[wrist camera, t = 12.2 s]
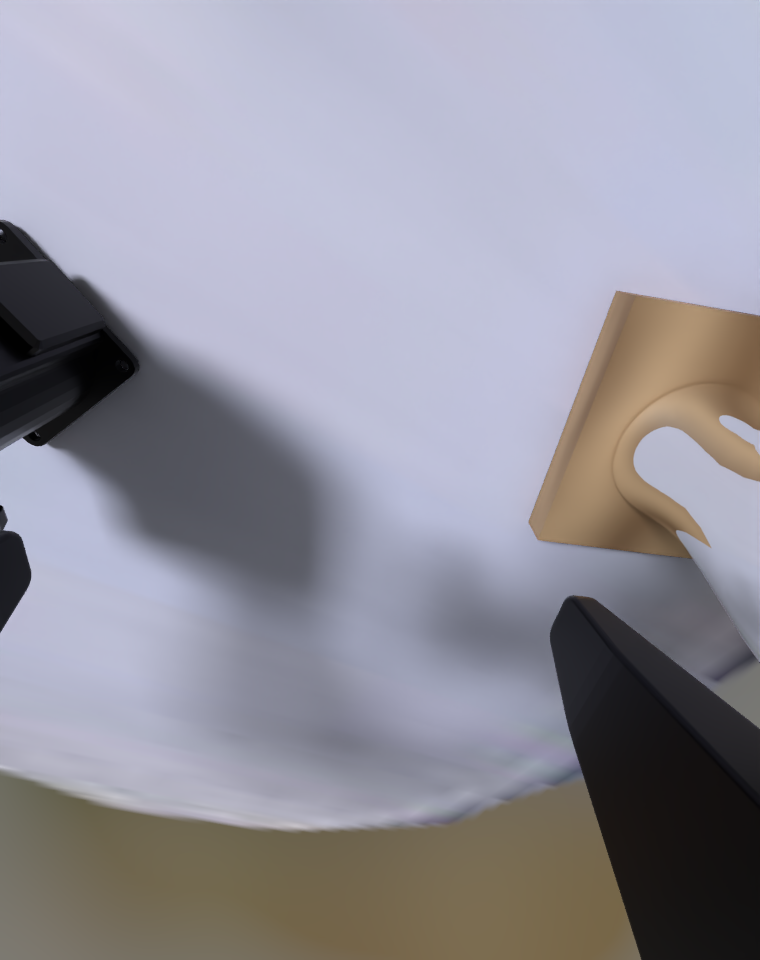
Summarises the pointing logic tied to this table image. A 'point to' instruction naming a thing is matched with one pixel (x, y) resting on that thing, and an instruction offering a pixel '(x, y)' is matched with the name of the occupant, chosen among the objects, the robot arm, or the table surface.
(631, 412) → the cleat board
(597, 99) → the table surface
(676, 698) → the robot arm
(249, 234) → the table surface
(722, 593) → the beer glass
